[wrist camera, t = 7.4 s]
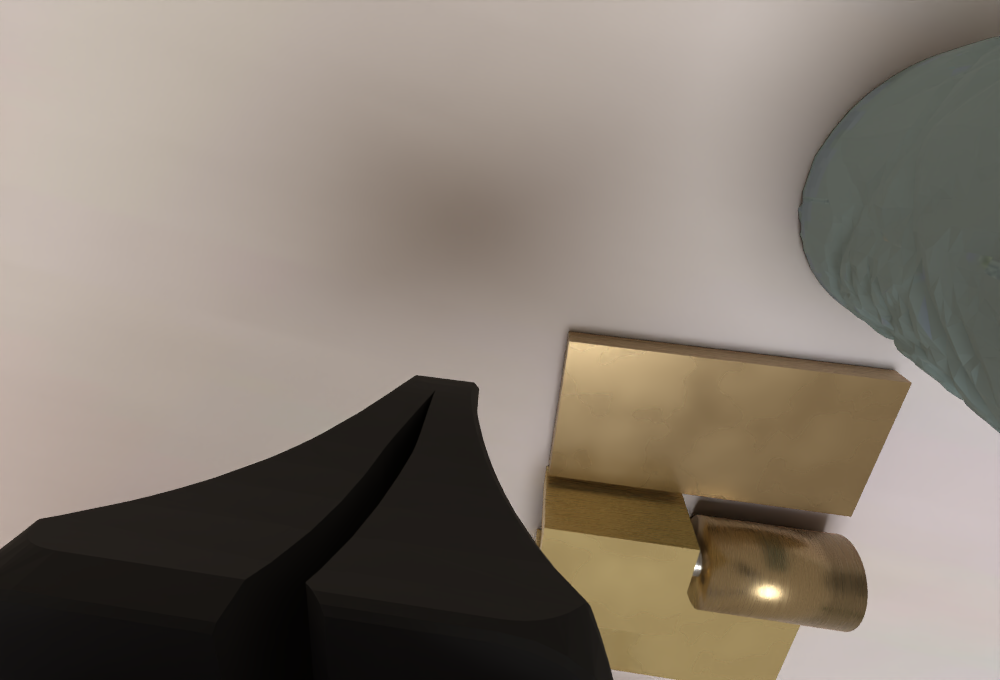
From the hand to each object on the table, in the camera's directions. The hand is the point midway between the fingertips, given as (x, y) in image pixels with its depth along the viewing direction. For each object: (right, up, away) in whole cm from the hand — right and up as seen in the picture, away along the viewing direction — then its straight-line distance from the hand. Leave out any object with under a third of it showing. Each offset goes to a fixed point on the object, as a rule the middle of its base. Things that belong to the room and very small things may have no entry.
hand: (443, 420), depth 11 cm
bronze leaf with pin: (+9, -3, +11) cm, 15 cm away
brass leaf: (+9, -9, +13) cm, 18 cm away
